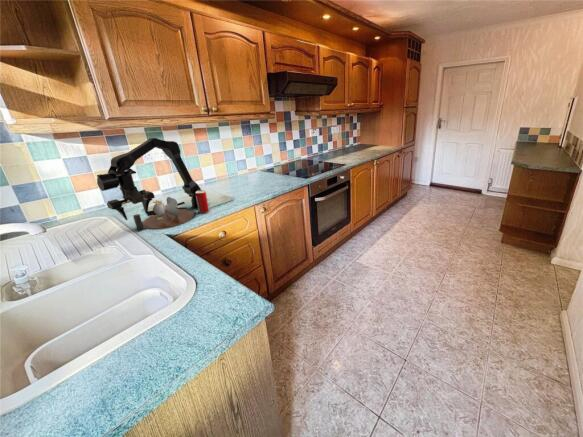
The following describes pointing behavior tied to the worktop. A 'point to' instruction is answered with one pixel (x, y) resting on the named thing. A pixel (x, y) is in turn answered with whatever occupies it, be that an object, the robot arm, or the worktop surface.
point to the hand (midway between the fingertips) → (136, 216)
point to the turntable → (163, 220)
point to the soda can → (202, 201)
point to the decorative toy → (166, 208)
